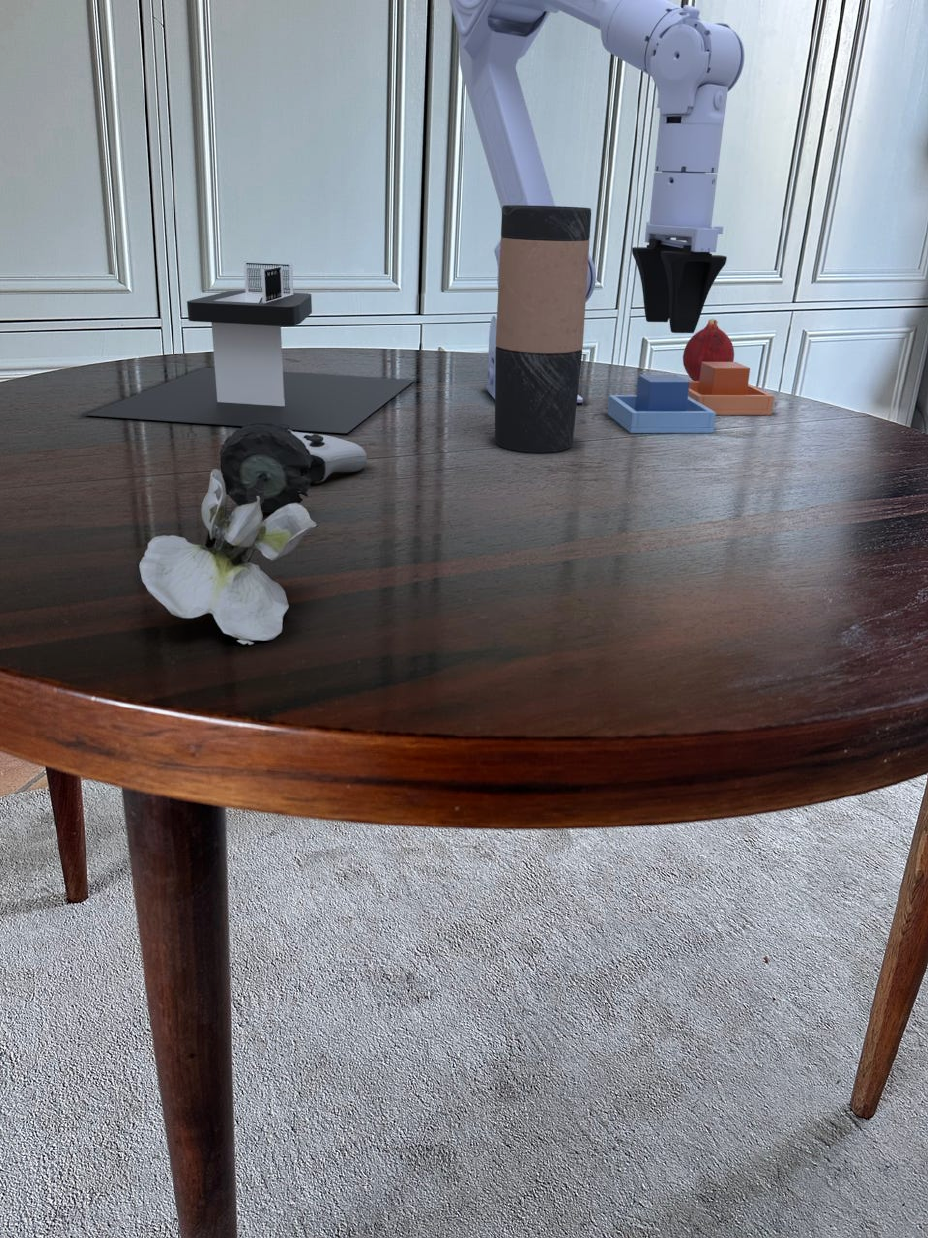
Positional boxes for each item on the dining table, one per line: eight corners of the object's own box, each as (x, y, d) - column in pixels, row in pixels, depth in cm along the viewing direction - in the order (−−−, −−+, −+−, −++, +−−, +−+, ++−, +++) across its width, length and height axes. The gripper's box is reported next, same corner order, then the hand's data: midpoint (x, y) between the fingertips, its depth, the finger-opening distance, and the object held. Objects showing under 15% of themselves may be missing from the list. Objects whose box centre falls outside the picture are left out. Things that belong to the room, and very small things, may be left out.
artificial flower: (336, 528, 71) (370, 399, 66) (259, 714, 51) (299, 551, 46) (214, 492, 70) (239, 358, 65) (89, 666, 51) (111, 494, 46)
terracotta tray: (696, 414, 104) (698, 395, 103) (670, 398, 111) (672, 380, 111) (771, 414, 105) (774, 395, 104) (741, 398, 113) (743, 380, 112)
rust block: (709, 405, 106) (714, 367, 104) (696, 398, 110) (701, 361, 108) (745, 405, 107) (750, 368, 105) (731, 398, 110) (736, 361, 109)
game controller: (373, 455, 81) (350, 414, 76) (354, 513, 79) (329, 475, 74) (269, 443, 84) (239, 402, 78) (248, 498, 82) (217, 461, 77)
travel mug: (586, 439, 92) (604, 207, 84) (558, 458, 86) (575, 208, 78) (510, 429, 95) (521, 204, 87) (478, 446, 89) (486, 205, 81)
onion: (734, 394, 115) (744, 323, 112) (684, 392, 115) (693, 321, 112) (723, 385, 120) (732, 316, 117) (675, 383, 120) (683, 315, 117)
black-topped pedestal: (346, 434, 92) (343, 282, 86) (84, 416, 96) (65, 270, 90) (414, 381, 117) (415, 261, 111) (204, 368, 121) (195, 252, 115)
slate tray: (630, 433, 95) (632, 412, 95) (607, 414, 103) (608, 394, 102) (713, 432, 97) (716, 412, 96) (684, 414, 104) (686, 395, 103)
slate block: (646, 422, 97) (650, 381, 96) (634, 414, 101) (638, 374, 99) (685, 422, 98) (690, 381, 96) (672, 413, 102) (676, 374, 100)
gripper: (759, 174, 84) (737, 338, 90) (699, 174, 98) (683, 317, 103) (680, 171, 83) (662, 337, 89) (630, 172, 97) (617, 316, 102)
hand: (669, 326), depth 96 cm, fingers open, 7 cm apart
